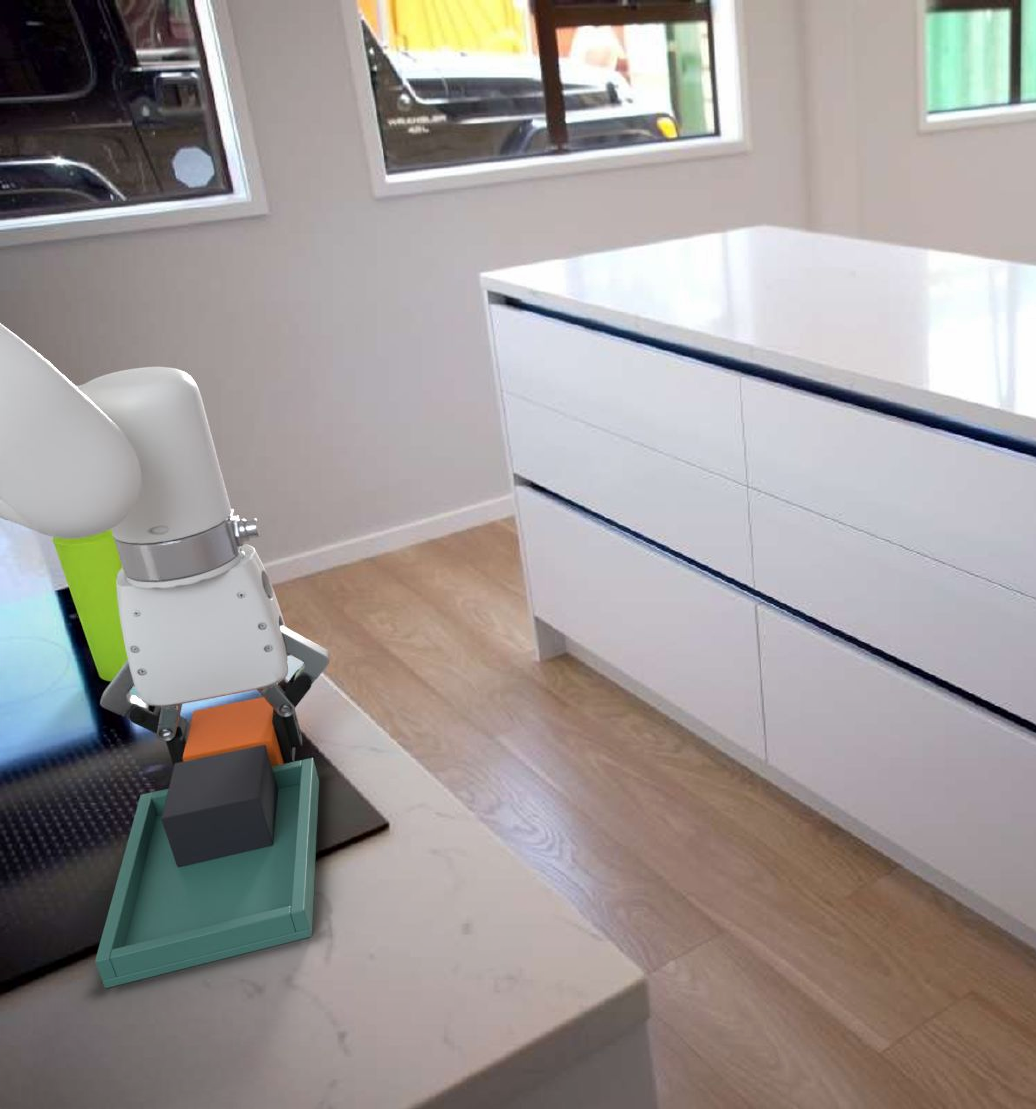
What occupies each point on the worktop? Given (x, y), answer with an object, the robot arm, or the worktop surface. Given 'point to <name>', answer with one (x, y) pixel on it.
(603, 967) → the worktop surface
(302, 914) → the tray
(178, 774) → the dark grey block
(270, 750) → the orange block
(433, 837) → the worktop surface
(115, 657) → the soap dispenser
